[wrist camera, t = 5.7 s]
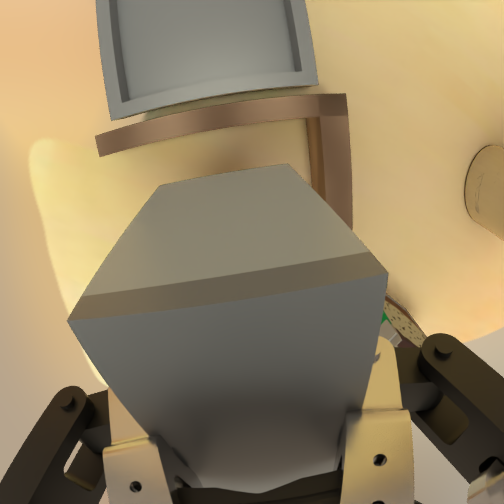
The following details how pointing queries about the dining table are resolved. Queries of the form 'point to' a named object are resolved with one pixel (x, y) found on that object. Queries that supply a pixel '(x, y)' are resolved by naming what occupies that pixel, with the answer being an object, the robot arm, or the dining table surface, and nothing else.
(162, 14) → the charcoal tray
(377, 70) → the dining table surface
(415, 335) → the food container
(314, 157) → the walnut bay
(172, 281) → the grey rectangular prism
